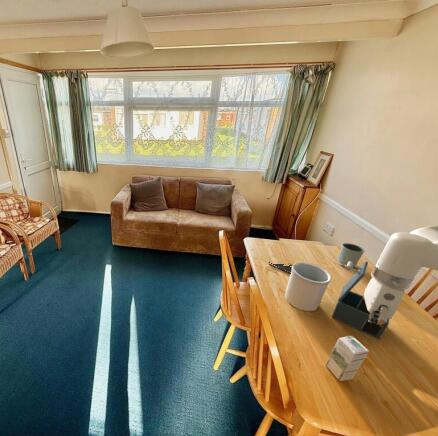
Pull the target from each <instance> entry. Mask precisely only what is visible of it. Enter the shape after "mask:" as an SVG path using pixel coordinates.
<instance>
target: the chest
mask: <svg viewBox="0 0 438 436" xmlns="http://www.w3.org/2000/svg"><path fill="white" fill-rule="evenodd" d="M361 299H363V295H362V294H359V293H357V292H354V291H352V290H350V292H349V293H348V294H347V295H346V296H345V297H344V298H343V299H342V300H341V301H340V302H339V301H338V300H337V302H336V304H335V306H334V309H333V312H332V314H331V318H333V319H335V320H337V321H339V322H341V323H343V324H344V325H347V326H349V327H352V328H354V329H355V330H358V331H359V332H362V333H363V334H366V335H368V336H370V337H372V338H375V339H377V340H380V339H381V337H382V336H383V334H384V333H385V331H386V329H387V328H388V326H389V325H390V320H389V319H387V322H386V323H385V325H383V327H381V328H380V330H379V332H378V333H377V335H373V334H370V333H367V332H365V331H362V326H363V325H364V323H365V321H366V320H367V319H368V320H369V315H370V313H367V312H364V311H361V310H358V309H357V307H358V305H359V303H360V301H361ZM374 312H376V313H379V311H374ZM378 317H379V316H377V315H374V316H373V319H378Z"/></svg>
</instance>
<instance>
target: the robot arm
mask: <svg viewBox="0 0 438 436" xmlns="http://www.w3.org/2000/svg"><path fill="white" fill-rule="evenodd" d="M421 268H426V269H430V270H431V269H432V270H434V271H437V272H438V224H436V225H428V226H425V227H424V226H423V227H420V228H419V227H418V228H417V229H414V230H412V231H411V232H405V231H399V232H394V233H392V234H391V236H390V237H389V238H388V241H387V242H386V244H385V246H384V248H383V250H382V252H381V253H380V256H379V258H378V260H377V261H376V264H375V265H374V267H373V268H372V270H371V273H370V276H371V278H370V280H369V282H368V284H367V285H366V287H365V290H364V291H363V295H362V296H363V299H361V301H360V303H359V305H358V307H357V309H358V310H361V311H364V312H367V313H370V315H369V320H368V319H367V320H366V321H365V323H364V325H363V326H362V331H365V332H367V333H370V334H373V335H377V333H378V332H379V330H380V328H381V327H383V325H385V323H386V322H387V319H389V321H390V320H392V319H393V318H394V316H395V314H396V312H397V310H398V308H399V306H400V304H401V302H402V300H403V297H404V294H405V290H408V289H409V288H410V286H411V285H412V283H413V281H414V280H415V278H416V276H417V275H418V273H419V272H420V270H421ZM374 311H379V313H376V312H374ZM374 315H377V316H379V317H378V319H373V316H374ZM362 331H361V332H362Z"/></svg>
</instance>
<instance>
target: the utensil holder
mask: <svg viewBox="0 0 438 436" xmlns="http://www.w3.org/2000/svg"><path fill="white" fill-rule="evenodd" d="M292 265H293V266H292V271H291V274H290V273H289V278H288V281H287V284H286V288H285V292H284V293H285V294H284V297H285V300H286V301H287V302H288V303H289V304H290V305H291V306H292V307H294V308H296V309H298V310H301V311H304V312H314V311H316V310H317V309H318V308H319V306H320V303H321V301H322V300H323V297H324V295H325V293H326V290H327V288H328V286H329V284H330V283H331V281H332V275H331V274H330V272H329V271H328V270H326V269H324V268H323V267H321V266H319V265H316V264H315V263H311V262H304V261H299V262H295V263H293V264H292Z"/></svg>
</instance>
